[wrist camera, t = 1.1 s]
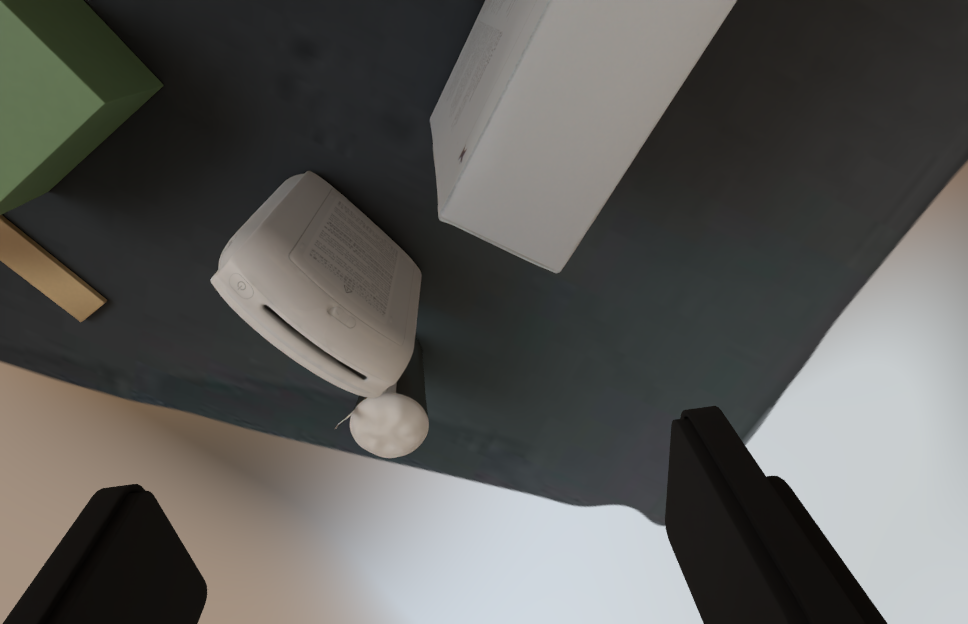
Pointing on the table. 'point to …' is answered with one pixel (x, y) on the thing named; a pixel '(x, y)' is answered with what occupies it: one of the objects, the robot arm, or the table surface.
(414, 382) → the milkshake
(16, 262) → the strip
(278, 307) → the photo printer
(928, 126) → the table surface
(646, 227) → the table surface
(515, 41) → the skincare box
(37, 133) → the green box
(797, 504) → the robot arm
